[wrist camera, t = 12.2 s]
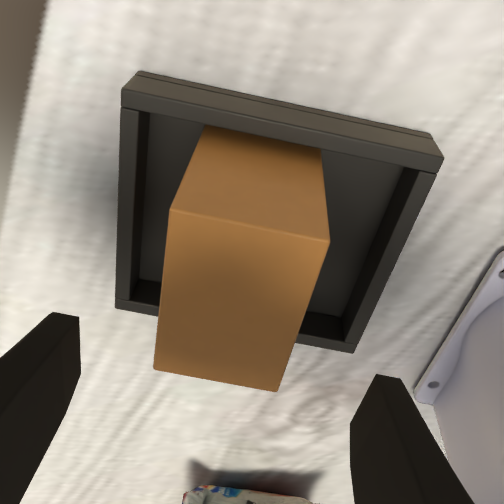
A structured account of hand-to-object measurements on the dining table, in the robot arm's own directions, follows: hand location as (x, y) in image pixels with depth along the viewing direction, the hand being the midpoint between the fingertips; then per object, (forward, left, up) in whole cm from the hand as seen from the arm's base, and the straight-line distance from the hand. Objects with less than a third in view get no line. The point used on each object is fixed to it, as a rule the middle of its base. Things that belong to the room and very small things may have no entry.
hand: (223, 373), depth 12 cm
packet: (0, 0, -8) cm, 8 cm away
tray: (-1, 0, -9) cm, 9 cm away
